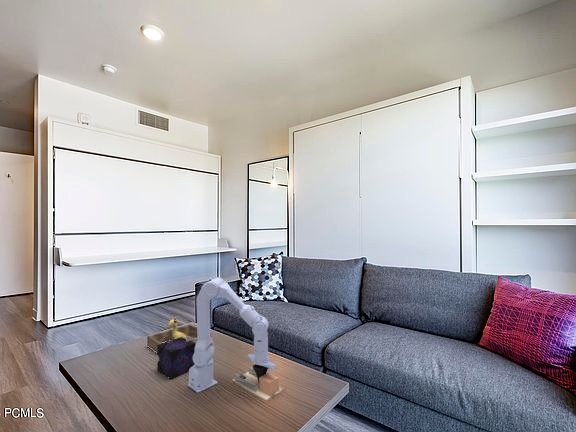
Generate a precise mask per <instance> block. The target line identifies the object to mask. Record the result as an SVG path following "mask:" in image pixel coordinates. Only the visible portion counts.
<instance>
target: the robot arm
mask: <svg viewBox="0 0 576 432" xmlns="http://www.w3.org/2000/svg"><path fill="white" fill-rule="evenodd" d="M215 296H216V298H219V299H220V298H221V299H226V300H227V301H228V302H229V303H230V304H231V305H232V306H233V307H235V308H236V310H238V311H239V316H240V318H242V319H243V320H244V322H245V323H246V324H247V325H248V326H250V328H251V332H252V333H253V353H250V354H247V360H248V361H251V362H253V363H254V365H252V368H253V369H254V370H255V372H256V375H257V379H258V382H259V377H261V376H263V375H265V374H267V373H268V370H269V371H271V372H273V371H276V363H273V362H272V361H271V359H270V356H269V336H268V334H269V333H268V328H269V326H270V323H269V320H268V319H267V318H266V317H265V316H263V315H262V314H261V315H260V314H259V313H258V312H257V311H256V310H255V307H254V306H253V305H250V304H245V302H244V301H242V299H241V298H240V297H239V296H238V294H237V293H235V291H234V290H233V289H232V287H230V285H229V283H228V282H226V281H225V279H223V278H222V277H218V276H217V277H215V278H212V279H211V280H210V281H207V282H205V283H204V284H203V285H202V286H201V289H200V291H199V292H198V294H197V296H196V327H197V338H198V341H197V343H196V346H195V352H194V355H193V362H194V364H195V365H194V366H192V367H191V368H190V369H189V372H188V384H187V387H189V388H190V389H192V390H193V391H195V392H196V393H200V392H203V391H204V390H206V389H209V388H211V387H212V386H215V385H217V384H218V381H217V380H215V379H214V358H213V356H214V354H215V353H216V346H215V345H214V340H213V338H212V333H211V305H210V304H211V303H210V301H211V300H212V299H213V298H214V297H215Z"/></svg>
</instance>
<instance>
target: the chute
mask: <svg viewBox="0 0 576 432" xmlns="http://www.w3.org/2000/svg"><path fill="white" fill-rule="evenodd" d="M231 382H233V383H234V384H237V385H238V386H240V387H242V388H243V389H244V390H246V391H248V392H249V393H251V394H254V395H255V396H257V397H259V398H260V399H262V400H264V401H266V402H268V401H269V400H270V399H272V398H274V397H275V396H277V395H279V394H280V393H282V392H283V391H285V387H283V386H281V385H279V391H277V392H276V393H274V394H272V395H271V396H269V395H268V394H266V393H264V392H262V391H260V390H259V382H258V379H257V375H256V372H255V370H254V369H253V366H249V367H248V371H247V372H245V373H243V374H239V373H235V374H234V378H233V379H232V380H231Z"/></svg>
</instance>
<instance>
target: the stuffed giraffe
mask: <svg viewBox="0 0 576 432" xmlns="http://www.w3.org/2000/svg"><path fill="white" fill-rule="evenodd" d="M177 318H178V317H176V316H174V318H173V319H170V320H169V321H168V323H167V325H166V326H167V329H168V330H171V328H172V329H173V330H172V338H173V340H174V339H177V338H180V337H183V338H185V339H186V341H188V340H191V339H194V338H195V337H192V336H190V337H187V336H186V335H185V334H184V333H181V332H178V331H177V328H178V327H179V326H178V319H177ZM173 340H170V341H166V342H167V343H169V342H172V341H173Z"/></svg>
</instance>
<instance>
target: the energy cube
mask: <svg viewBox="0 0 576 432" xmlns="http://www.w3.org/2000/svg"><path fill="white" fill-rule="evenodd" d="M194 352H195V343H194V342H192V341H189V342H188V341H186V339H185V338H183V337H180V338H177V339H174V340H173V341H172V342H169V343H167V342H165V343H162V344H159V345H157V353H156V354H157V356H158V361H156V362H157V364H156V365H157V367H156V368H157V370H158V371H159V372H161V373H164V374H163V375H165V377H166V376H167V377H169V378H170V379H172V380H174V379H173V378H175V379H177V378H179V377H181V376H180V375H182V374H184V373H186V372H188V373H189V369H190V368H191V367H192V366H194V365H195V364H194V362H193V355H194ZM157 370H156V371H157ZM158 371H157V372H158ZM159 372H158V373H159ZM161 373H160V374H161ZM178 376H179V377H178ZM167 377H166V378H167ZM176 377H177V378H176ZM169 378H168V379H169ZM170 379H169V380H170Z"/></svg>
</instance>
